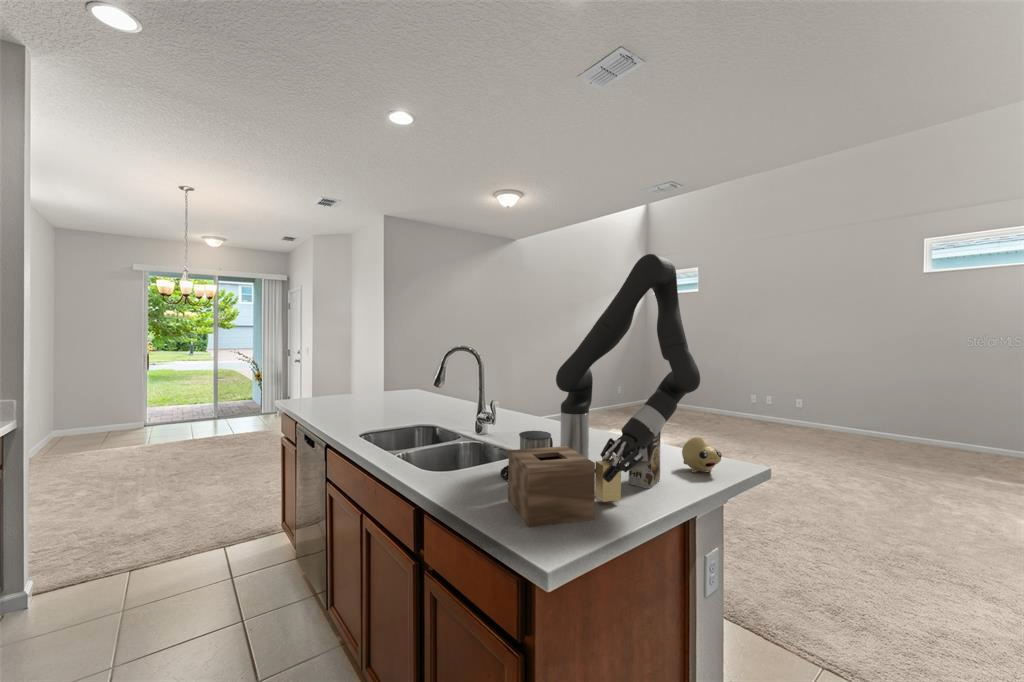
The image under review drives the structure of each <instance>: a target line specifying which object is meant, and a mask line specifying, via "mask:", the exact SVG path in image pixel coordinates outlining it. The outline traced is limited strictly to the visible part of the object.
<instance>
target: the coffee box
mask: <svg viewBox="0 0 1024 682" xmlns="http://www.w3.org/2000/svg"><path fill="white" fill-rule="evenodd" d="M661 430H662V429H661ZM661 430H660V432H659V433H658V434H657V435H656V436H655V438H654V439H653V440H652V441H651V443H650V444H649V445H648V446H647V447H646V449H640V451H639V452H640V453H641V454H642V456H643V457H644V458H643V459H642V460H641V461H640V462H638V463H637V464H636V465H635V466H633V467H632V468H631V469H630V470H629V471H628V485H630V484H631V486H634V485H636V486H635V487H639V486H640V487H639V488H643V487H645V488H644V489H647V488H650V489H651V488H652V487H654V486H655V485H656V484H658V483H659V482H660V481H661V435H662V434H661ZM629 464H630V463H628V465H629ZM659 480H660V481H659ZM658 481H659V482H658ZM657 482H658V483H657ZM654 484H655V485H654ZM653 485H654V486H653Z"/></svg>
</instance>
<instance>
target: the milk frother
mask: <svg viewBox="0 0 1024 682" xmlns="http://www.w3.org/2000/svg"><path fill="white" fill-rule="evenodd" d="M518 436H519V449H533V448H547V447H554V445H553V444H554V442H553V438H552V433H551V432H548V431H542V430H525V431H521V432H520V433H518ZM500 477H501V478H502V479H504V480H506V481H508V464H507V465H506V466H504V467H503V468H501V470H500Z"/></svg>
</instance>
